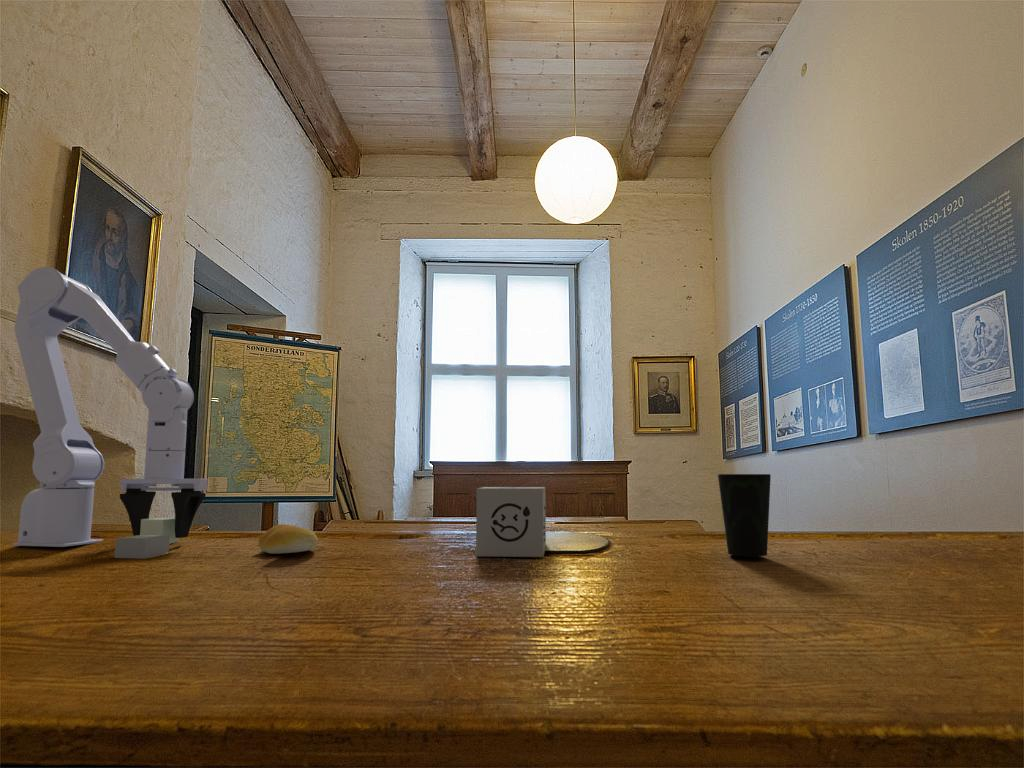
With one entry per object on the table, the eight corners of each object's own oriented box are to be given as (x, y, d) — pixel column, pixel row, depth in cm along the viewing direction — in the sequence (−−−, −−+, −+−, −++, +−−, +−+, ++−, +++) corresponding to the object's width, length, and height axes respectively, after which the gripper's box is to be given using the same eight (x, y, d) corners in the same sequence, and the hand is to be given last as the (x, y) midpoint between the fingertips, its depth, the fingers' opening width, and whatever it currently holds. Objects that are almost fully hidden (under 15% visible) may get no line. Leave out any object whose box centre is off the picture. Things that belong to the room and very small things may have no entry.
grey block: (114, 559, 99) (115, 537, 99) (139, 555, 103) (140, 534, 104) (144, 560, 98) (146, 538, 98) (168, 555, 103) (169, 535, 103)
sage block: (138, 551, 106) (141, 519, 107) (157, 549, 110) (159, 517, 111) (161, 552, 106) (163, 519, 106) (178, 549, 109) (180, 518, 110)
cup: (773, 552, 105) (769, 474, 107) (775, 558, 98) (771, 474, 100) (721, 550, 108) (718, 474, 109) (719, 556, 100) (716, 474, 102)
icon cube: (545, 549, 110) (545, 487, 112) (543, 556, 100) (542, 488, 102) (484, 548, 111) (485, 487, 112) (476, 556, 101) (476, 488, 103)
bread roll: (273, 555, 97) (272, 527, 98) (252, 552, 104) (252, 526, 105) (327, 549, 102) (327, 522, 103) (304, 546, 109) (304, 521, 110)
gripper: (108, 451, 108) (101, 538, 106) (188, 449, 105) (183, 540, 103) (140, 452, 114) (135, 534, 113) (217, 451, 111) (213, 535, 110)
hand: (160, 537), depth 108 cm, fingers open, 7 cm apart
